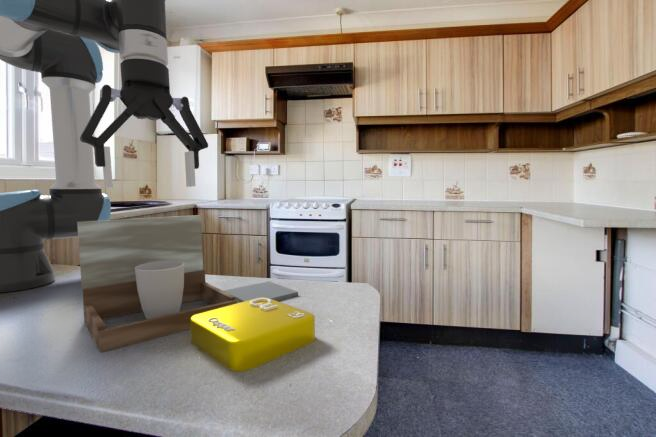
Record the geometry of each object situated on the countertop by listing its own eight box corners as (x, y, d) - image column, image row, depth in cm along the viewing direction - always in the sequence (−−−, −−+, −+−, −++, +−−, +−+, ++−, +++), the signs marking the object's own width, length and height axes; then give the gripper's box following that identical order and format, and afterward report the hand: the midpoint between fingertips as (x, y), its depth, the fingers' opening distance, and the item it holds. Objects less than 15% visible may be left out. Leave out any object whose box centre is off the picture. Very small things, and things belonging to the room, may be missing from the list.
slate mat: (223, 294, 81) (223, 290, 81) (269, 284, 89) (269, 281, 89) (249, 307, 72) (249, 303, 72) (298, 295, 80) (298, 291, 80)
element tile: (186, 342, 57) (184, 313, 56) (264, 318, 68) (263, 293, 67) (237, 377, 46) (236, 341, 46) (320, 341, 57) (320, 312, 57)
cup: (194, 312, 70) (192, 261, 69) (172, 328, 62) (169, 271, 61) (154, 310, 70) (151, 260, 69) (127, 326, 62) (124, 270, 61)
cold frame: (83, 320, 65) (77, 222, 64) (203, 296, 80) (200, 215, 78) (100, 352, 53) (92, 230, 51) (238, 316, 67) (235, 220, 65)
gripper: (57, 38, 52) (68, 186, 53) (222, 72, 68) (227, 185, 69) (53, 54, 57) (64, 188, 59) (206, 82, 74) (211, 186, 75)
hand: (152, 187), depth 64 cm, fingers open, 13 cm apart
